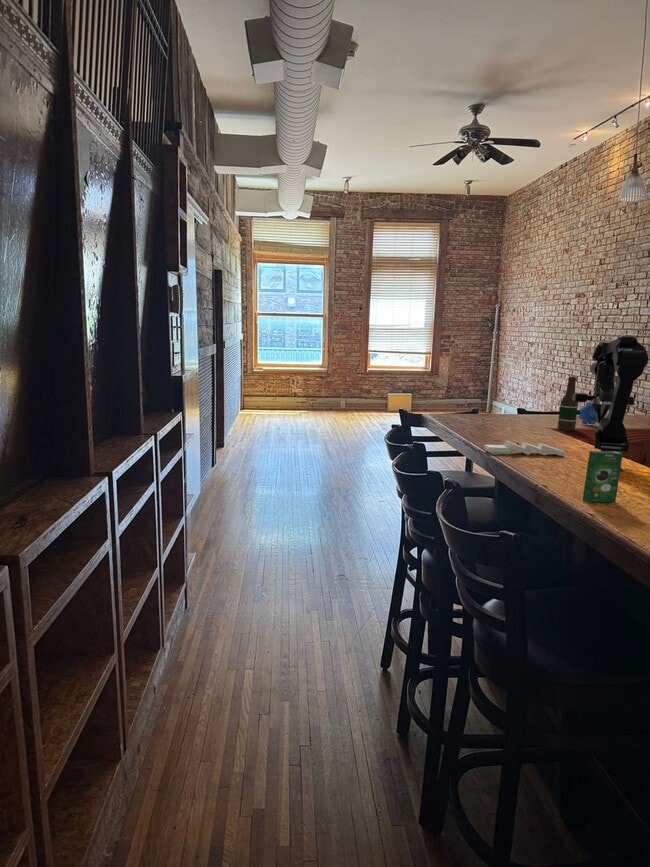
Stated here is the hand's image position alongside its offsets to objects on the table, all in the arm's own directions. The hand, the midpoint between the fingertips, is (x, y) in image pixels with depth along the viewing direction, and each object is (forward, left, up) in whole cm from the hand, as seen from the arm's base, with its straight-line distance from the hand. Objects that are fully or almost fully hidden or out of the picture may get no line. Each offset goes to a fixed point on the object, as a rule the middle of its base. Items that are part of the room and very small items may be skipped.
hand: (599, 423), depth 190 cm
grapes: (+74, -29, -12) cm, 80 cm away
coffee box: (-55, +22, -12) cm, 60 cm away
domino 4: (0, +17, -11) cm, 21 cm away
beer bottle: (+57, -11, -12) cm, 59 cm away
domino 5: (0, +12, -11) cm, 16 cm away
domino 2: (-1, +29, -12) cm, 32 cm away
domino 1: (-1, +30, -10) cm, 32 cm away
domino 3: (0, +24, -11) cm, 26 cm away
